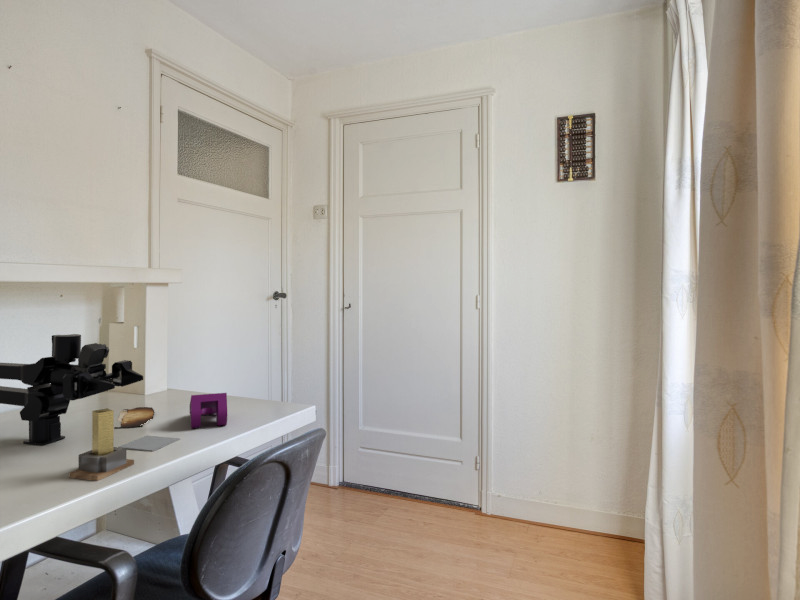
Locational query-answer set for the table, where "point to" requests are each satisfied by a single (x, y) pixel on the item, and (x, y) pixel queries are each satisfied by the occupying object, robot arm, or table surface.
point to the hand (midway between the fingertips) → (129, 381)
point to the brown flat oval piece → (135, 417)
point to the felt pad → (149, 443)
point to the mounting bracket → (208, 408)
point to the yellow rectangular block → (102, 432)
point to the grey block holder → (101, 464)
